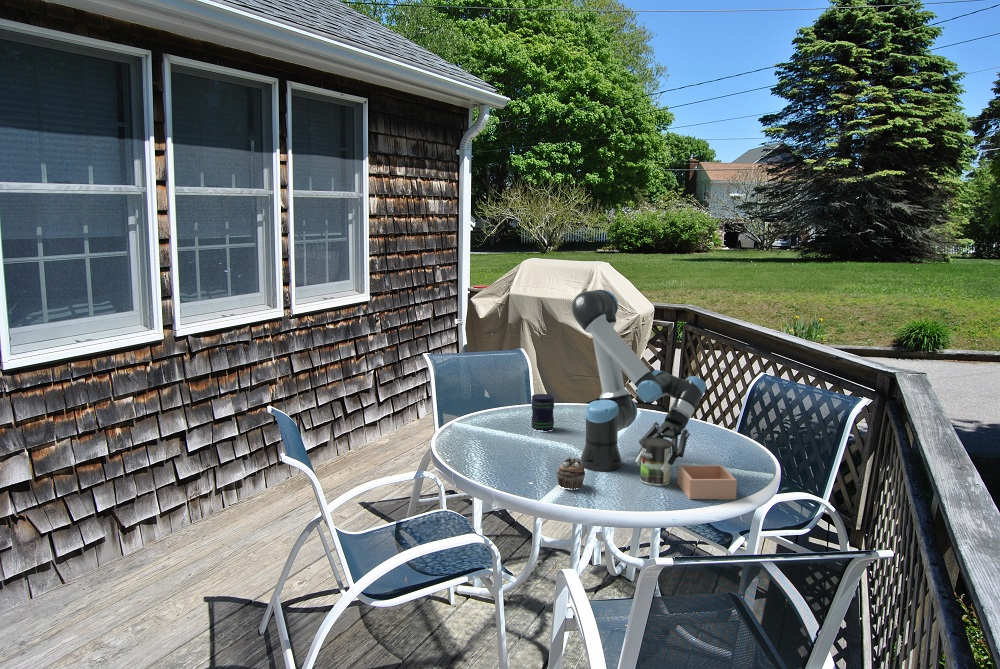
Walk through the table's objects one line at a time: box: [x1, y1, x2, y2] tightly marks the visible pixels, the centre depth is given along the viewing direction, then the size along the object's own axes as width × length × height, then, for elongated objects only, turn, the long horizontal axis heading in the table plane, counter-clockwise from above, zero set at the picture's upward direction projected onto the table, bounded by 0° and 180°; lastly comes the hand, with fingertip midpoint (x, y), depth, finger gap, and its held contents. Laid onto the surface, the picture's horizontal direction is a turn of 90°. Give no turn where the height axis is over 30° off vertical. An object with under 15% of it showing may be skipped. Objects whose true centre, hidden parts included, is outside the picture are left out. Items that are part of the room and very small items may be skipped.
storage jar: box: [530, 393, 555, 431], centre depth 310 cm, size 10×10×15 cm
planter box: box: [676, 464, 738, 501], centre depth 235 cm, size 15×15×6 cm
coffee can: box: [639, 437, 672, 487], centre depth 244 cm, size 10×10×14 cm
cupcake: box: [556, 457, 586, 489], centre depth 239 cm, size 10×10×10 cm
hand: (650, 467), depth 242 cm, fingers closed on coffee can, 10 cm apart
